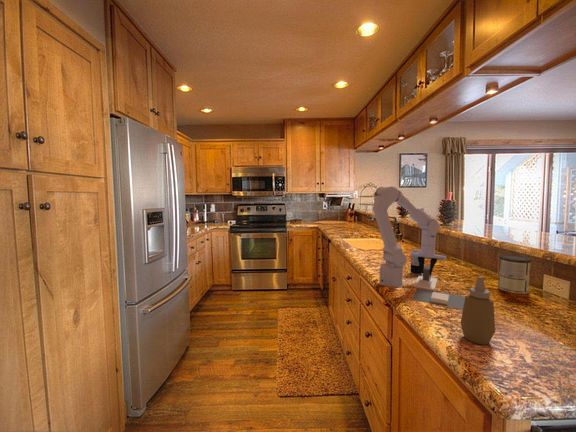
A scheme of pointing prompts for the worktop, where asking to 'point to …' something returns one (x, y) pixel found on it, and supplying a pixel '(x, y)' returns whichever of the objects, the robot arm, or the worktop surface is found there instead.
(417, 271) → the beverage can
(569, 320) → the worktop surface
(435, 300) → the tile
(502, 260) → the coffee can
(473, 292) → the squeeze bottle
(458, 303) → the mat
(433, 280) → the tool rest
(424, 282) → the grey bar
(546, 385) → the worktop surface
